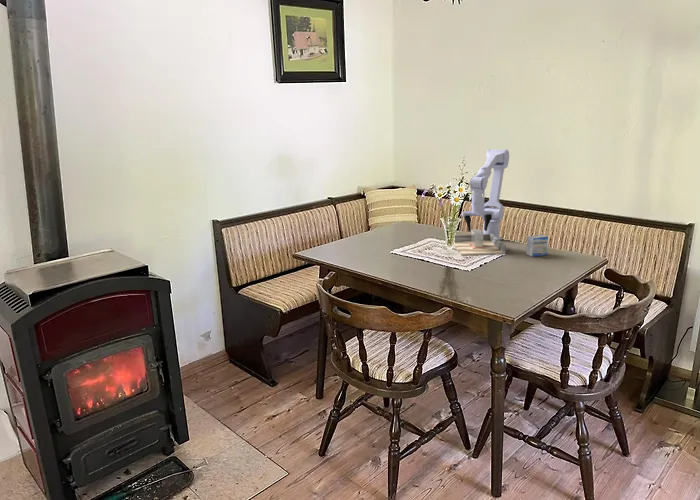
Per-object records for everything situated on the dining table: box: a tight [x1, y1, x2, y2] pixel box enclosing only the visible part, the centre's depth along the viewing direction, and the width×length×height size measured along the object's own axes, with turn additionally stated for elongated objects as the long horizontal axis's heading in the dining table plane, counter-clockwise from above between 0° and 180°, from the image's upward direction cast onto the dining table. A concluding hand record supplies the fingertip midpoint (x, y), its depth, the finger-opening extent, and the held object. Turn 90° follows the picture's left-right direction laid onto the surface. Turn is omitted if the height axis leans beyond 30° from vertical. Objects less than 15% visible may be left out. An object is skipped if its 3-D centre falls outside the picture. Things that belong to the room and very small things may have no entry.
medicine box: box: [526, 234, 549, 258], centre depth 241 cm, size 8×4×9 cm, turn 105°
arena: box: [453, 233, 507, 256], centre depth 256 cm, size 22×20×4 cm
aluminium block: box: [470, 228, 483, 248], centre depth 256 cm, size 4×7×7 cm, turn 1°
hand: (477, 230), depth 255 cm, fingers open, 7 cm apart
